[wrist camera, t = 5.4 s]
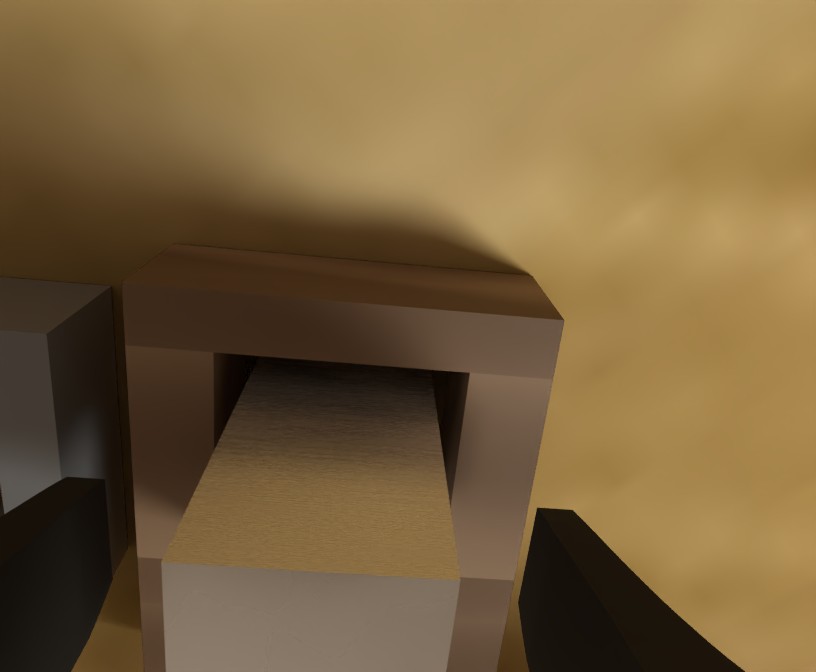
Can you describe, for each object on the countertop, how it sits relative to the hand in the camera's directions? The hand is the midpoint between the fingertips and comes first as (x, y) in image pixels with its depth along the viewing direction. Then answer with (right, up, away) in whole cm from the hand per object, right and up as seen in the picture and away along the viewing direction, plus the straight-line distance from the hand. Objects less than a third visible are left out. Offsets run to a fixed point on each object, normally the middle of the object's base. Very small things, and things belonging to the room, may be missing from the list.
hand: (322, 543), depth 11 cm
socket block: (0, 0, +6) cm, 6 cm away
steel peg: (0, +2, +5) cm, 5 cm away
